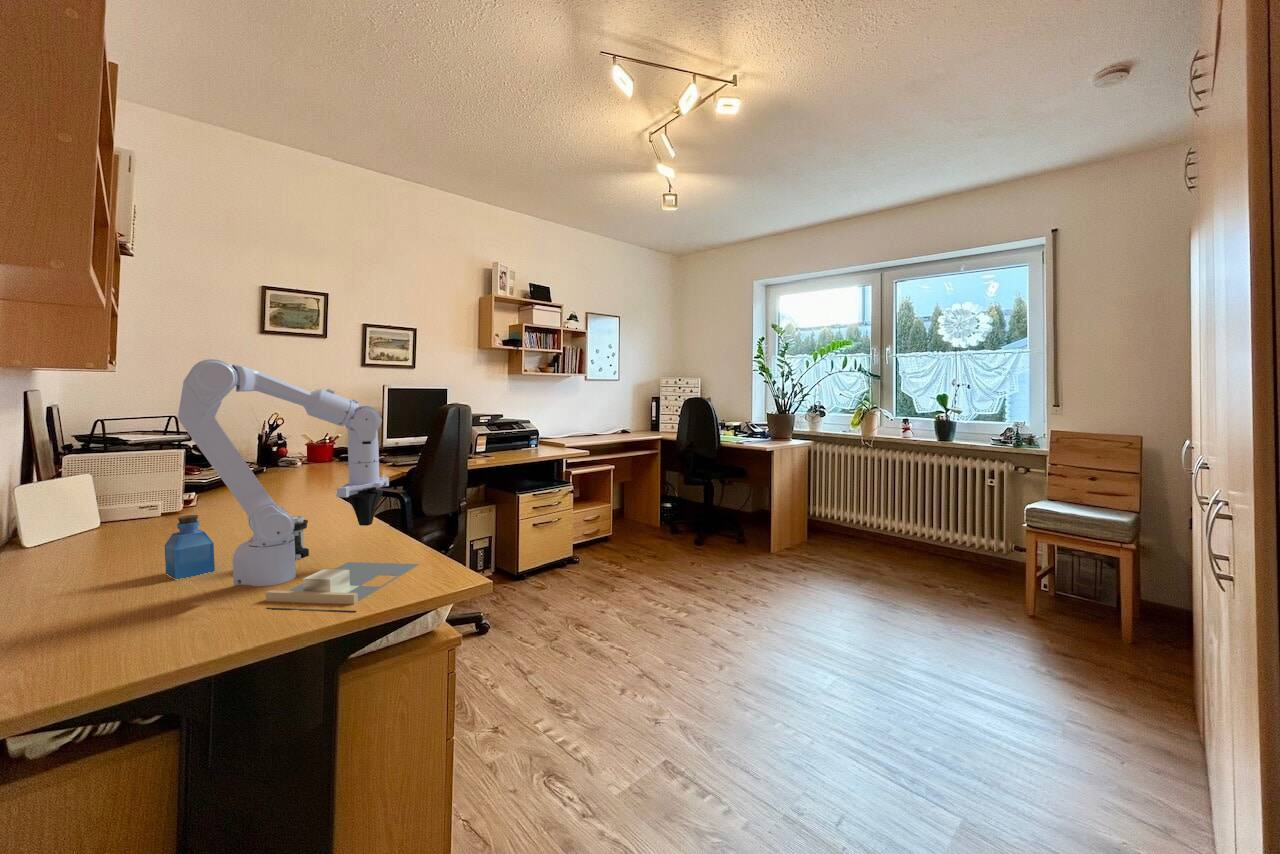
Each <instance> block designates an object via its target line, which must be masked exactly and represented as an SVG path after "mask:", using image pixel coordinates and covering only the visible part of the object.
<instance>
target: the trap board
mask: <svg viewBox="0 0 1280 854" xmlns="http://www.w3.org/2000/svg"><path fill="white" fill-rule="evenodd" d="M418 566H420V563H394V562H392V563H391V562H390V563H389V562H387V563H386V562H362V561H361V562H358V561H357V562H356V561H355V562H353V561H348V562H345V563H344V564H341V565H340V566H337V567H335V568H334V569H335V570H349V573H350V589H349V590H347V591H345V592H343V593H341V592H310V591H303V583H301V584H299V585H297V586H295V587H293V588H291V589H289V590H280V589H279V590H275V589H271V590H268V591H266V592H265V601H266V602H272V603H273V602H275V603H277V602H278V603H280V602H281V603H303V604H304V603H307V604H332V605H333V604H334V605H335V604H336V605H339V604H340V605H355V604H357V603H359V602H361V601H362V600H363V599H365V598H367V597H368V596H370V595H372V594H373V593H375V592H376V591H378V590H380V589H382V588H383V587H385V586H386V585H388V584H390V583H391V582H394V580H397V579H398V578H399V577H401V576H403V575H405V574H406V573H408V572H410V571H411V570H413V569H415V568H416V567H418ZM379 576H395V577H393V578H392V579H390V580H389V581H387V582H385V583H383V584H382V585H380V586H374V585H372V586H371V585H370V586H369V585H364V584H367V583H368V582H369V581H372V580H374V579H375V578H377V577H379ZM266 609H272V610H271V611H273V610H274V611H293V610H299V611H301V612H329V613H352V614H353V613H356V612H357V610H345V609H319V608H318V609H315V608H314V609H313V608H312V609H311V608H287V607H285V608H284V607H266ZM299 611H298V612H299Z"/></svg>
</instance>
